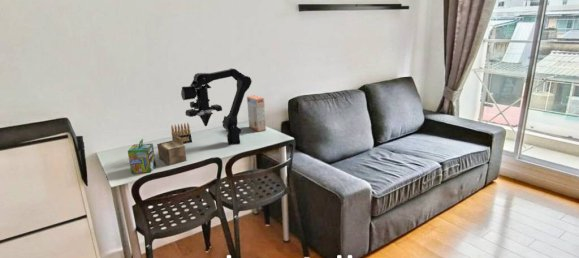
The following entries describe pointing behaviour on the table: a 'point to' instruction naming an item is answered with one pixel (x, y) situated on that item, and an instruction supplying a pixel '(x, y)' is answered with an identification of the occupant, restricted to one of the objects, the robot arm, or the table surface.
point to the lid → (174, 142)
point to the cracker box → (256, 113)
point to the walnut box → (171, 154)
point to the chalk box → (141, 158)
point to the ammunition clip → (182, 133)
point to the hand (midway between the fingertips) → (205, 125)
